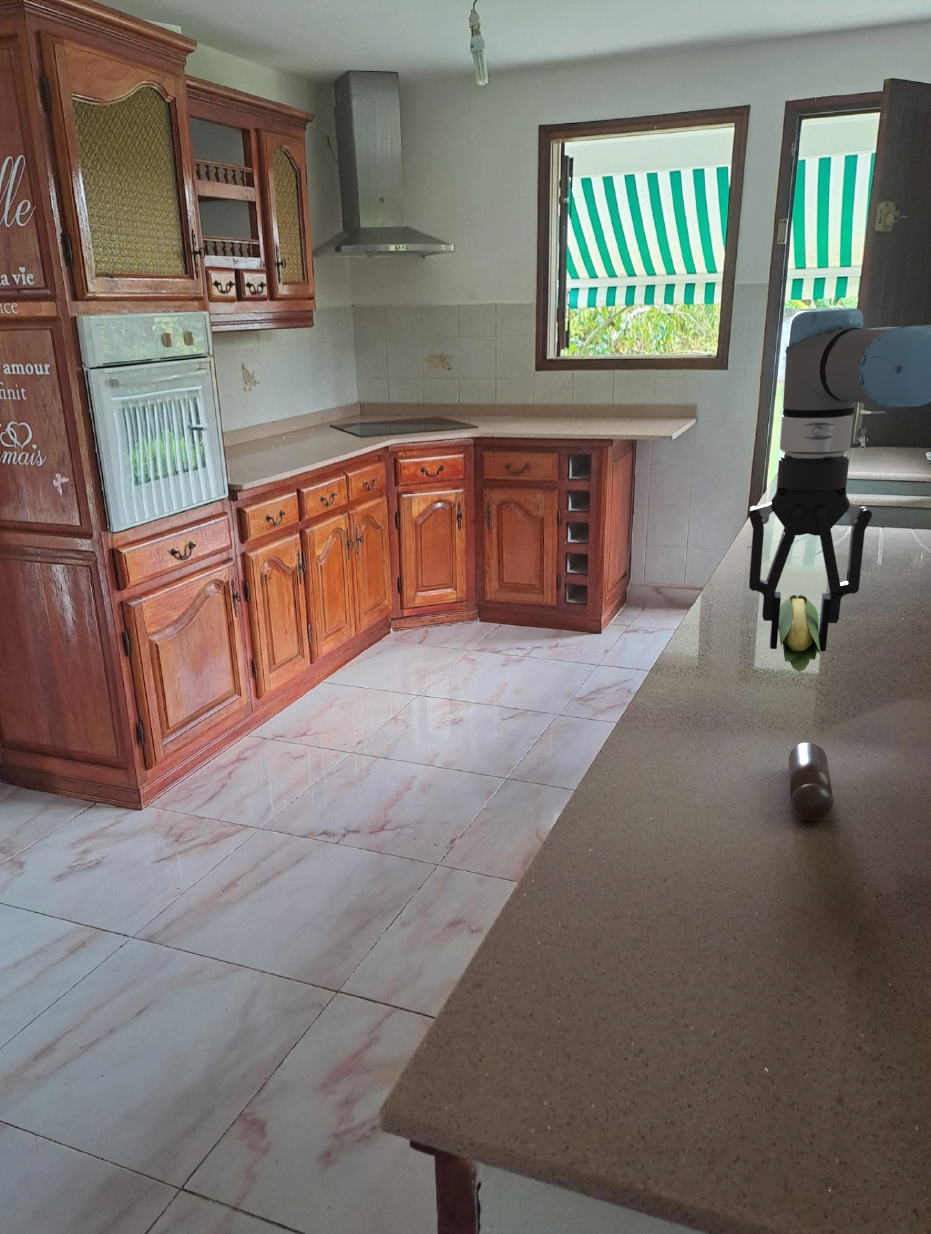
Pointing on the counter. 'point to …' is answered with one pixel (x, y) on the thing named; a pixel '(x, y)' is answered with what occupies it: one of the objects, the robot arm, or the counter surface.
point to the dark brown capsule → (810, 782)
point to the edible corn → (799, 631)
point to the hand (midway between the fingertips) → (797, 646)
